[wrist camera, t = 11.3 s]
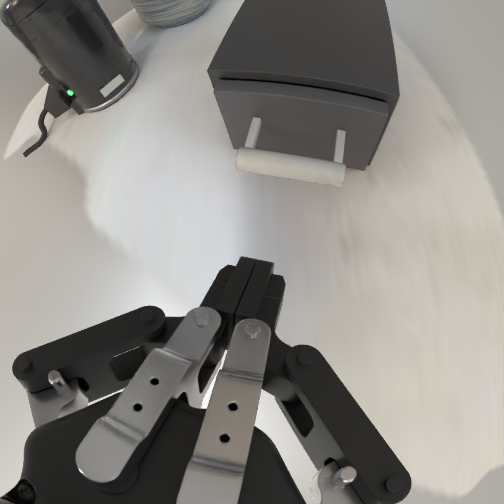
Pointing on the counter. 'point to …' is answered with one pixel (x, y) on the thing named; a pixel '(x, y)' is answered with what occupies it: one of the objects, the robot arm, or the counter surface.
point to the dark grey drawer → (299, 128)
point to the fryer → (313, 47)
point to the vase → (169, 11)
